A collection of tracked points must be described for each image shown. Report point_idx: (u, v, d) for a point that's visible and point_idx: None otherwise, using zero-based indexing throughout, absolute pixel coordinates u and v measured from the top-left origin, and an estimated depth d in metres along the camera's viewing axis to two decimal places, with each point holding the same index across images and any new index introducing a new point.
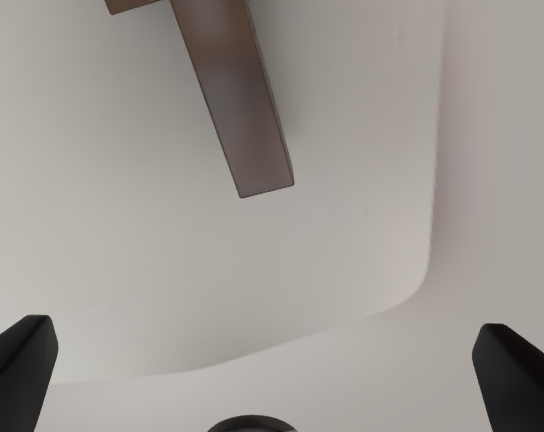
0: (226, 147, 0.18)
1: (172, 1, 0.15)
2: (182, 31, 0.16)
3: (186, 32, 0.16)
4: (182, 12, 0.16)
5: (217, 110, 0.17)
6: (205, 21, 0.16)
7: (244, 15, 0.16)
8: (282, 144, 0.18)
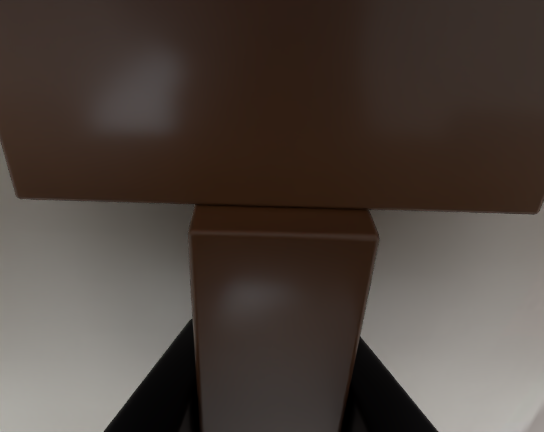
0: None
1: (194, 238, 0.06)
2: (197, 299, 0.06)
3: (205, 303, 0.06)
4: (211, 264, 0.06)
5: None
6: (261, 295, 0.06)
7: (359, 307, 0.06)
8: None
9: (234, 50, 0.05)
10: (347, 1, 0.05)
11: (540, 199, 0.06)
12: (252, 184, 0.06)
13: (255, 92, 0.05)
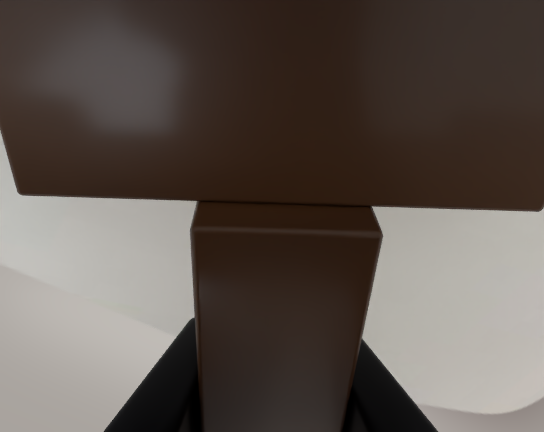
0: None
1: (196, 234, 0.06)
2: (198, 297, 0.06)
3: (207, 300, 0.06)
4: (213, 261, 0.06)
5: None
6: (263, 292, 0.06)
7: (362, 304, 0.06)
8: None
9: (237, 45, 0.05)
10: None
11: (543, 196, 0.06)
12: (255, 180, 0.06)
13: (258, 88, 0.05)
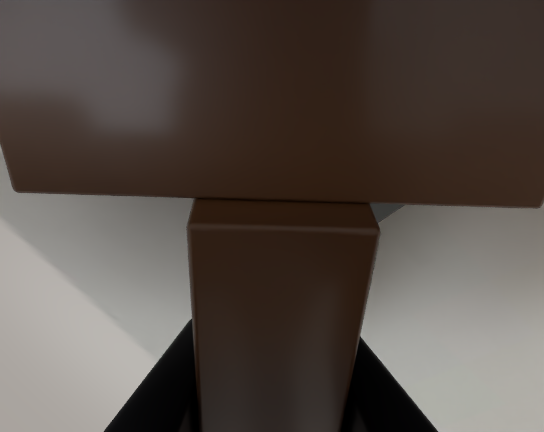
0: None
1: (193, 231, 0.06)
2: (196, 294, 0.06)
3: (204, 298, 0.06)
4: (210, 258, 0.06)
5: (218, 431, 0.08)
6: (261, 289, 0.06)
7: (360, 301, 0.06)
8: None
9: (234, 40, 0.05)
10: None
11: (543, 193, 0.06)
12: (252, 177, 0.06)
13: (255, 83, 0.05)
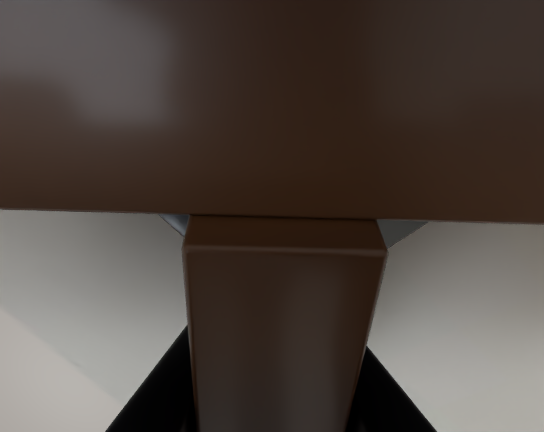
0: None
1: (188, 254, 0.05)
2: (193, 315, 0.06)
3: (201, 319, 0.06)
4: (207, 280, 0.05)
5: None
6: (261, 311, 0.06)
7: (365, 322, 0.06)
8: None
9: (231, 51, 0.05)
10: None
11: None
12: (251, 194, 0.05)
13: (254, 97, 0.05)
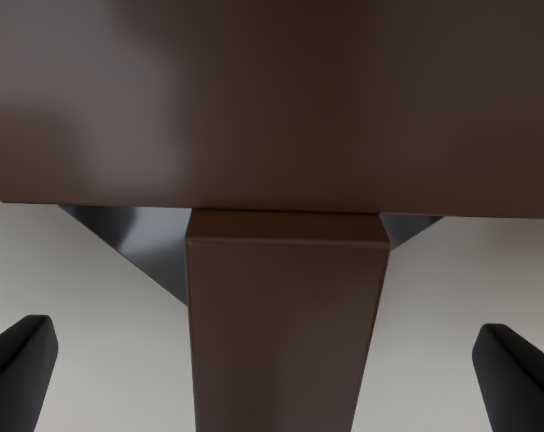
0: None
1: (190, 245, 0.05)
2: (194, 311, 0.06)
3: (203, 315, 0.06)
4: (209, 273, 0.05)
5: None
6: (263, 306, 0.06)
7: (369, 318, 0.06)
8: None
9: (234, 40, 0.05)
10: None
11: None
12: (253, 187, 0.05)
13: (257, 87, 0.05)
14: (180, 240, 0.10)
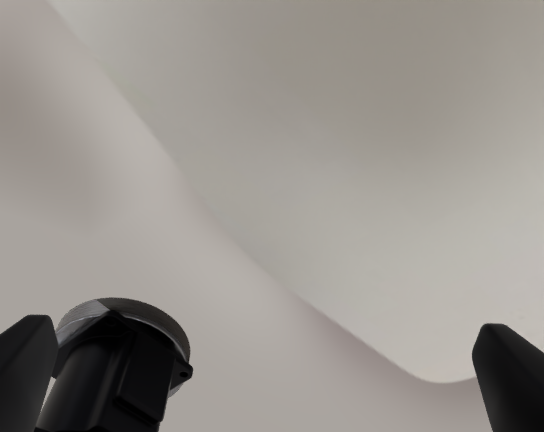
0: None
1: None
2: None
3: None
4: None
5: None
6: None
7: None
8: None
9: None
10: None
11: None
12: None
13: None
14: None
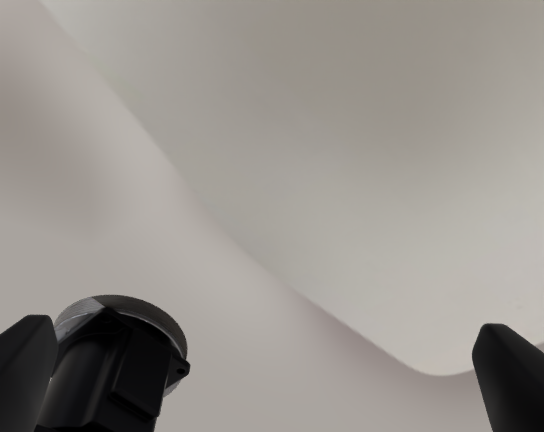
0: None
1: None
2: None
3: None
4: None
5: None
6: None
7: None
8: None
9: None
10: None
11: None
12: None
13: None
14: None
